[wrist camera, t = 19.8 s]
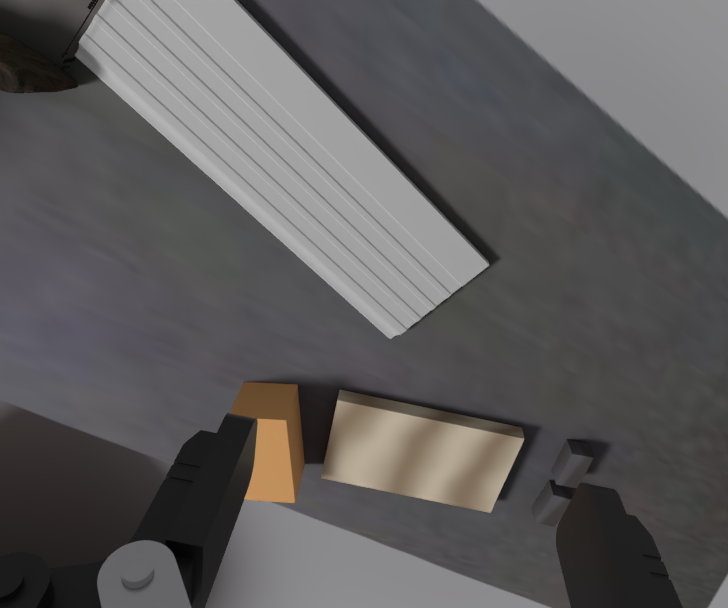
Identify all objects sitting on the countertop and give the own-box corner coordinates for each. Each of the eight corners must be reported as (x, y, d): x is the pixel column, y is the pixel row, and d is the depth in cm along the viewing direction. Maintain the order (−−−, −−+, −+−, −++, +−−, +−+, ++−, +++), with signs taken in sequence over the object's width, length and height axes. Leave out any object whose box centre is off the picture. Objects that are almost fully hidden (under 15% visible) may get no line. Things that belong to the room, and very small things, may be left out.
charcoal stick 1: (548, 478, 52) (568, 483, 52) (531, 504, 54) (549, 510, 54) (553, 494, 50) (573, 500, 50) (535, 521, 52) (554, 526, 52)
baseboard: (378, 343, 47) (487, 257, 42) (376, 362, 44) (491, 273, 39) (70, 70, 38) (164, -80, 33) (45, 75, 35) (143, -87, 30)
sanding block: (297, 383, 49) (286, 420, 45) (305, 462, 54) (295, 502, 50) (244, 380, 49) (227, 417, 45) (256, 459, 54) (242, 499, 50)
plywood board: (521, 427, 49) (524, 439, 48) (488, 500, 54) (490, 512, 53) (339, 389, 49) (337, 400, 47) (323, 466, 54) (320, 477, 52)
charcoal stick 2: (566, 437, 49) (587, 442, 49) (551, 468, 51) (571, 472, 51) (571, 453, 48) (593, 457, 48) (555, 484, 50) (576, 488, 50)
